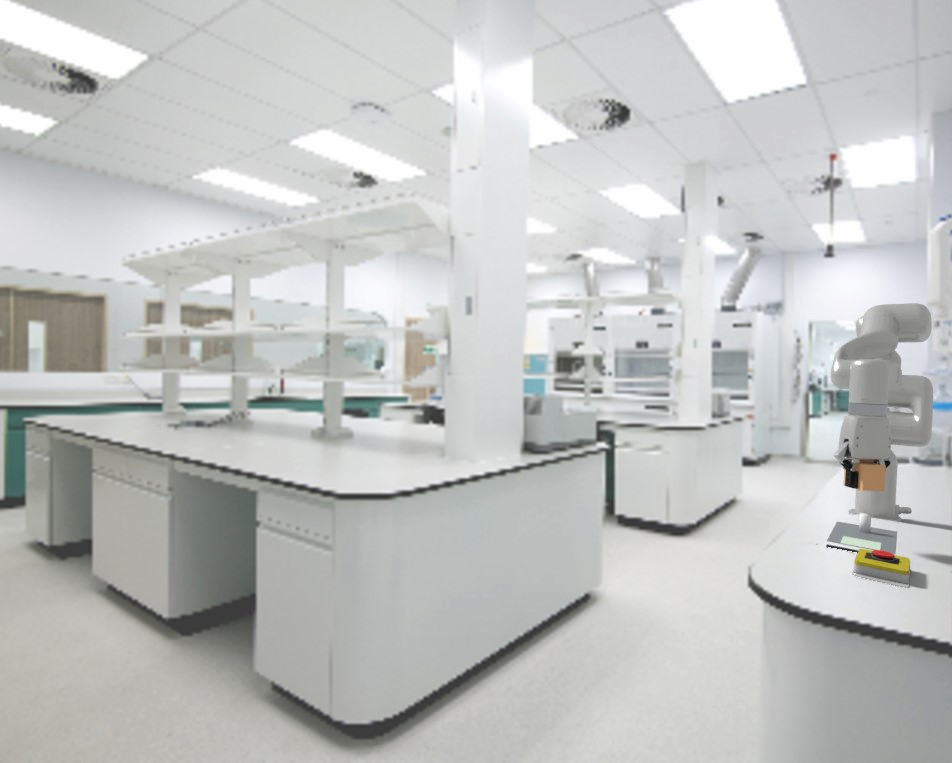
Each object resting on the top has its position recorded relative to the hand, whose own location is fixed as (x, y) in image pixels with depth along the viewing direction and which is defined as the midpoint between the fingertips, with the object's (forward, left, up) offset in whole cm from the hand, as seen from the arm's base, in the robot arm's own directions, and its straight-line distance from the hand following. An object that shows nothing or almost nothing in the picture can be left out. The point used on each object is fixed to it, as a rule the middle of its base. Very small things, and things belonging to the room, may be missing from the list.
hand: (863, 486), depth 129 cm
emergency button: (+6, +15, -16) cm, 22 cm away
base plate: (-5, -6, -15) cm, 17 cm away
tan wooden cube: (0, 0, 0) cm, 0 cm away
